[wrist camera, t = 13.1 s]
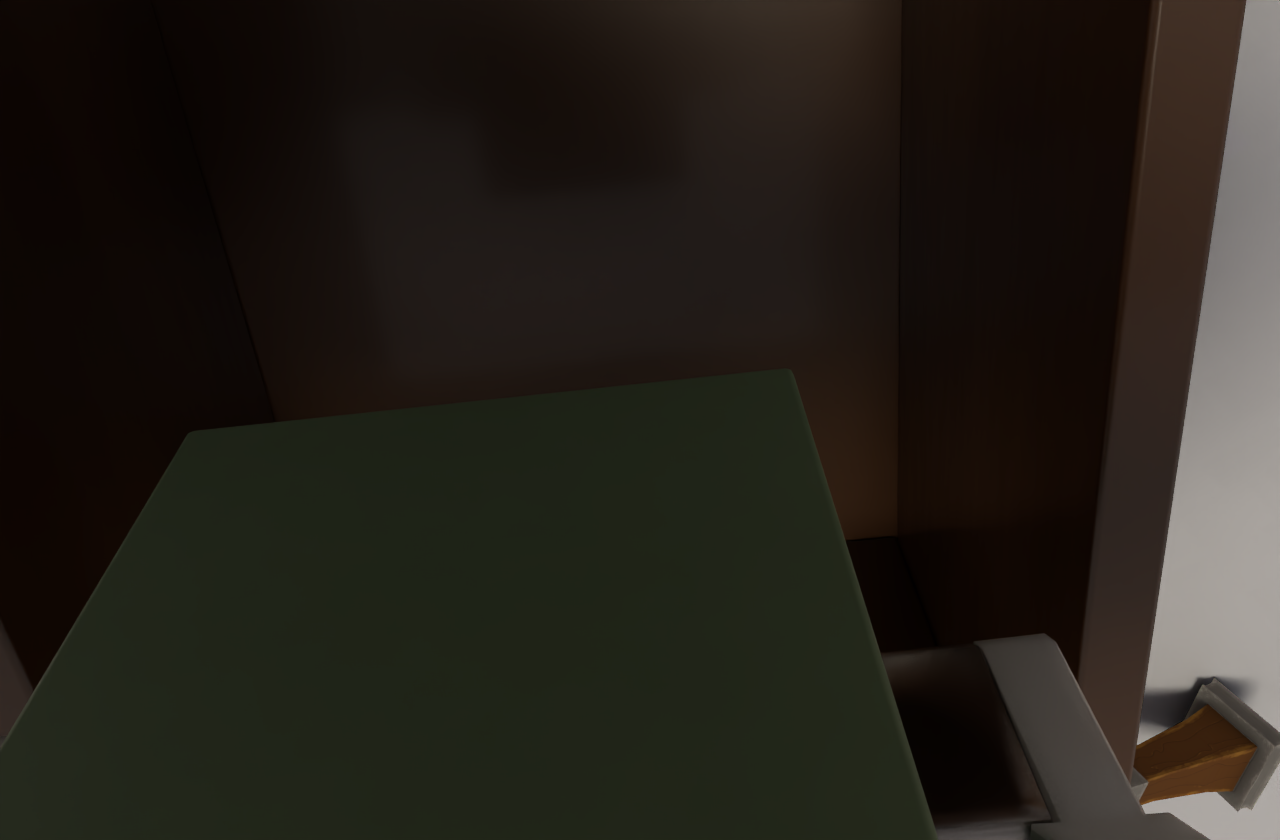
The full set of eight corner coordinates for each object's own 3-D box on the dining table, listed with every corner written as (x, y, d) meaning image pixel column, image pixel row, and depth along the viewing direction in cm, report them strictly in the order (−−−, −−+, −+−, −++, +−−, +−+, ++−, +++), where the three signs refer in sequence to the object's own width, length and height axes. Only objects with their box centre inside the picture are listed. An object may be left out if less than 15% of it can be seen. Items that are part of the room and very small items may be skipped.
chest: (927, 540, 21) (1105, 974, 14) (304, 601, 22) (146, 1060, 14) (952, -535, 14) (1382, -883, 6) (-8, -418, 14) (-719, -611, 6)
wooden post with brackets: (809, 666, 21) (967, 861, 18) (1120, 598, 25) (1300, 750, 22) (787, 738, 22) (934, 937, 19) (1091, 662, 26) (1259, 818, 23)
